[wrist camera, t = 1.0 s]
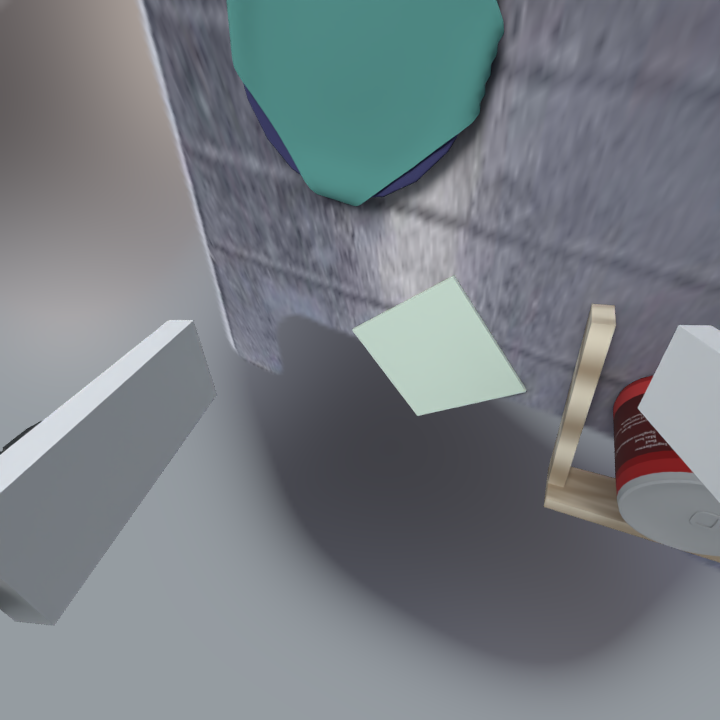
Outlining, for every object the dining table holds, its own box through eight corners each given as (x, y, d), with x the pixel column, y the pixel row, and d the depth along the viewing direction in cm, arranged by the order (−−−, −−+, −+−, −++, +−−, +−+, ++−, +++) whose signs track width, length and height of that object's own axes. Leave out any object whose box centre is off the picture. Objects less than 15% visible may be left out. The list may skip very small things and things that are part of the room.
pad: (454, 275, 32) (452, 277, 32) (526, 389, 36) (525, 391, 36) (353, 328, 42) (352, 329, 42) (418, 413, 45) (417, 415, 45)
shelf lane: (591, 303, 28) (591, 337, 25) (881, 327, 21) (934, 377, 18) (548, 469, 41) (543, 506, 37) (721, 516, 34) (735, 567, 31)
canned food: (732, 442, 30) (777, 571, 22) (614, 434, 34) (619, 539, 27) (742, 368, 26) (799, 493, 19) (610, 371, 31) (613, 472, 23)
